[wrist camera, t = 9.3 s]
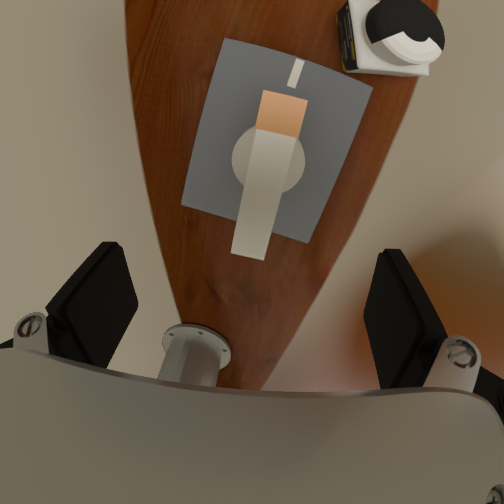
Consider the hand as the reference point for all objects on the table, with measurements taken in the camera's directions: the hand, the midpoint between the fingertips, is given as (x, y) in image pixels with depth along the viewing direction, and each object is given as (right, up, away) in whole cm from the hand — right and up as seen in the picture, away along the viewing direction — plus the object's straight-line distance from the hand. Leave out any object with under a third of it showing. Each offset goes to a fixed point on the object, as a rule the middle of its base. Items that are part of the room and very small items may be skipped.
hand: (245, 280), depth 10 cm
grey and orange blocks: (+2, +10, +15) cm, 18 cm away
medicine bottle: (+13, +23, +13) cm, 30 cm away
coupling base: (+2, +13, +20) cm, 24 cm away
